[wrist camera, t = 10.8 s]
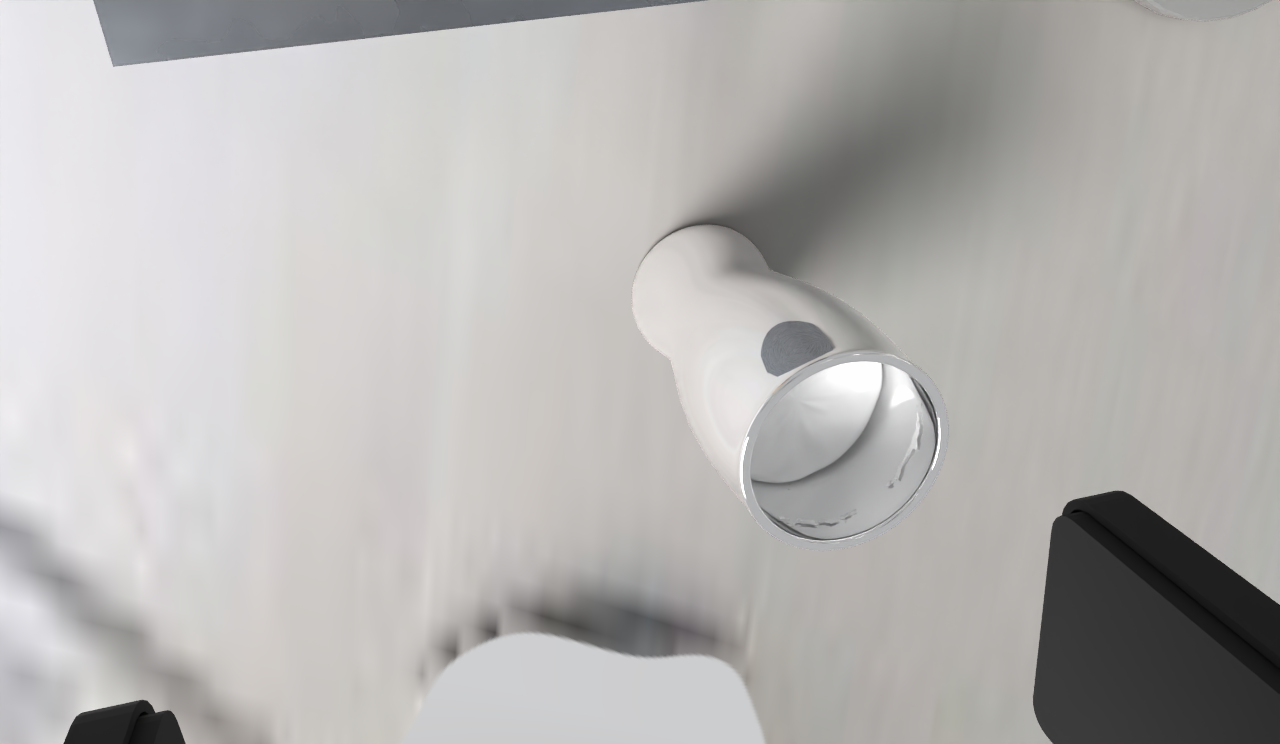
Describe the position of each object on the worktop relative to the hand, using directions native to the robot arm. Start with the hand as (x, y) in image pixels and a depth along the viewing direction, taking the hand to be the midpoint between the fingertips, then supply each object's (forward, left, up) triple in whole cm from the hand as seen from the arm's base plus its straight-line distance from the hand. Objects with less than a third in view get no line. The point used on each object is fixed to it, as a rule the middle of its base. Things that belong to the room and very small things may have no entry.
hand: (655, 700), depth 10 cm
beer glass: (-9, +7, -31) cm, 33 cm away
